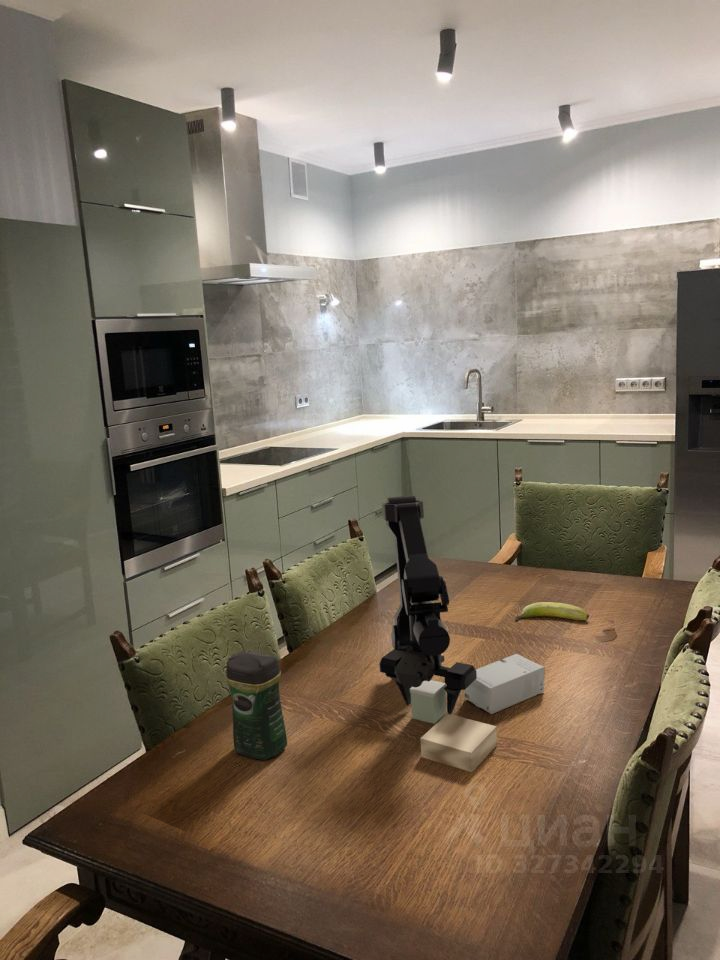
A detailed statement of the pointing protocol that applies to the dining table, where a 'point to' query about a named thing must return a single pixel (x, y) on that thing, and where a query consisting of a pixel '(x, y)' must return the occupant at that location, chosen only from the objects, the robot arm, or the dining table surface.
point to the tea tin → (428, 701)
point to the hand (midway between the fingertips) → (429, 709)
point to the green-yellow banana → (563, 615)
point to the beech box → (459, 742)
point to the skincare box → (505, 683)
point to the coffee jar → (256, 705)
